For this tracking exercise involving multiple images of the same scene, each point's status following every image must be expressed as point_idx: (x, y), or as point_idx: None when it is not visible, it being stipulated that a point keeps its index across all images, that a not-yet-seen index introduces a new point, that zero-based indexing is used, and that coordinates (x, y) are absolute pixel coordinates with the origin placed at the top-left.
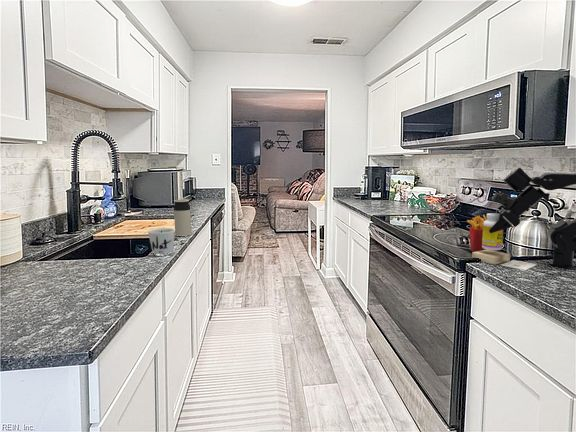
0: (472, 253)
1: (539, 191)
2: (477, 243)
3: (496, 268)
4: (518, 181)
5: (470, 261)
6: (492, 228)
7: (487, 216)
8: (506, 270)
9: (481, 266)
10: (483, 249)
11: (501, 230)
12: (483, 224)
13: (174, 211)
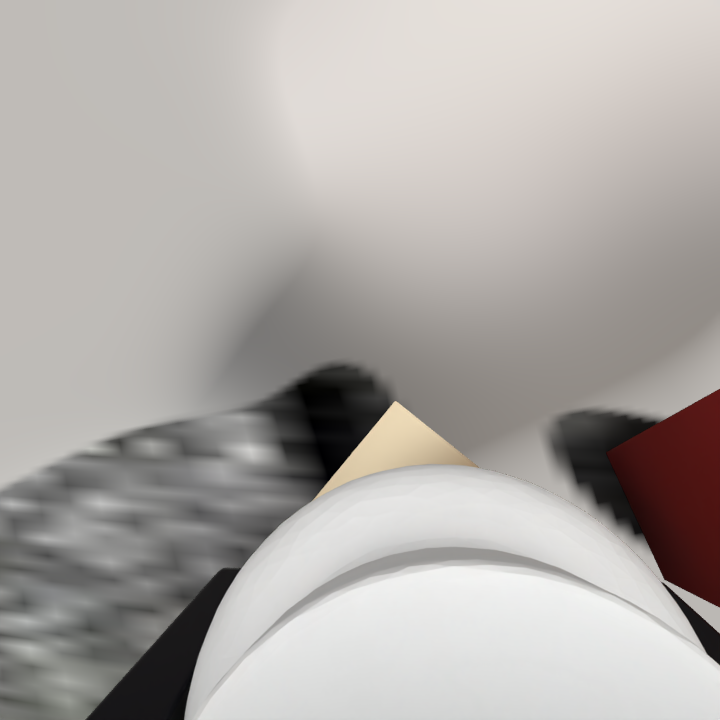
0: (394, 405)
1: None
2: (655, 454)
3: (113, 600)
4: None
5: (301, 398)
6: (157, 655)
7: (347, 577)
8: (62, 684)
9: (154, 478)
10: (660, 530)
11: None
12: (398, 468)
13: None
